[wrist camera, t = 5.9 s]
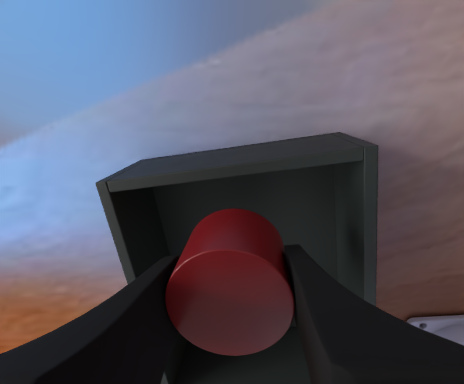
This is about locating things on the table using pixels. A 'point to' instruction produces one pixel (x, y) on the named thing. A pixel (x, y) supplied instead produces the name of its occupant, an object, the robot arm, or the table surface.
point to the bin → (265, 204)
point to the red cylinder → (232, 285)
